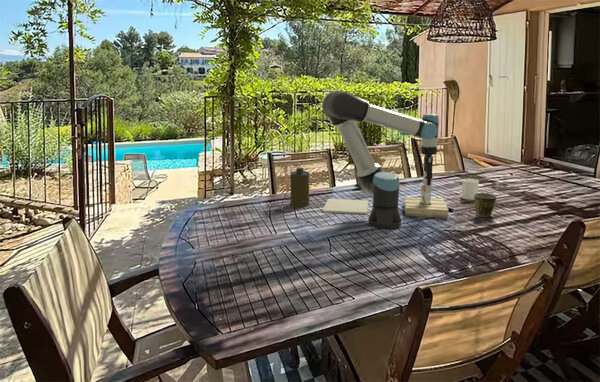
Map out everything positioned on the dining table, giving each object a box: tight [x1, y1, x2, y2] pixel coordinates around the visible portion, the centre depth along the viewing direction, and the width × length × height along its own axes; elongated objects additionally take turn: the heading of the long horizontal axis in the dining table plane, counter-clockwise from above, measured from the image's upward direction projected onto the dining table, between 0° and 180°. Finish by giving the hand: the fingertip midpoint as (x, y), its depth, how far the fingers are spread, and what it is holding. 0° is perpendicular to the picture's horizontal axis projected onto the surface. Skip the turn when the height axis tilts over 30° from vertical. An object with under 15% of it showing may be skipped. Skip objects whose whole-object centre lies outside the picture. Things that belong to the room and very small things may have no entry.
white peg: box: [420, 184, 432, 205], centre depth 224 cm, size 5×5×13 cm
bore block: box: [403, 196, 449, 219], centre depth 225 cm, size 20×20×4 cm
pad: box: [322, 198, 369, 215], centre depth 233 cm, size 22×22×1 cm
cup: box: [461, 178, 479, 201], centre depth 249 cm, size 8×12×10 cm
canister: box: [289, 167, 311, 208], centre depth 236 cm, size 11×10×20 cm
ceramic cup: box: [474, 192, 497, 218], centre depth 216 cm, size 13×10×10 cm
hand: (426, 187), depth 223 cm, fingers open, 13 cm apart
